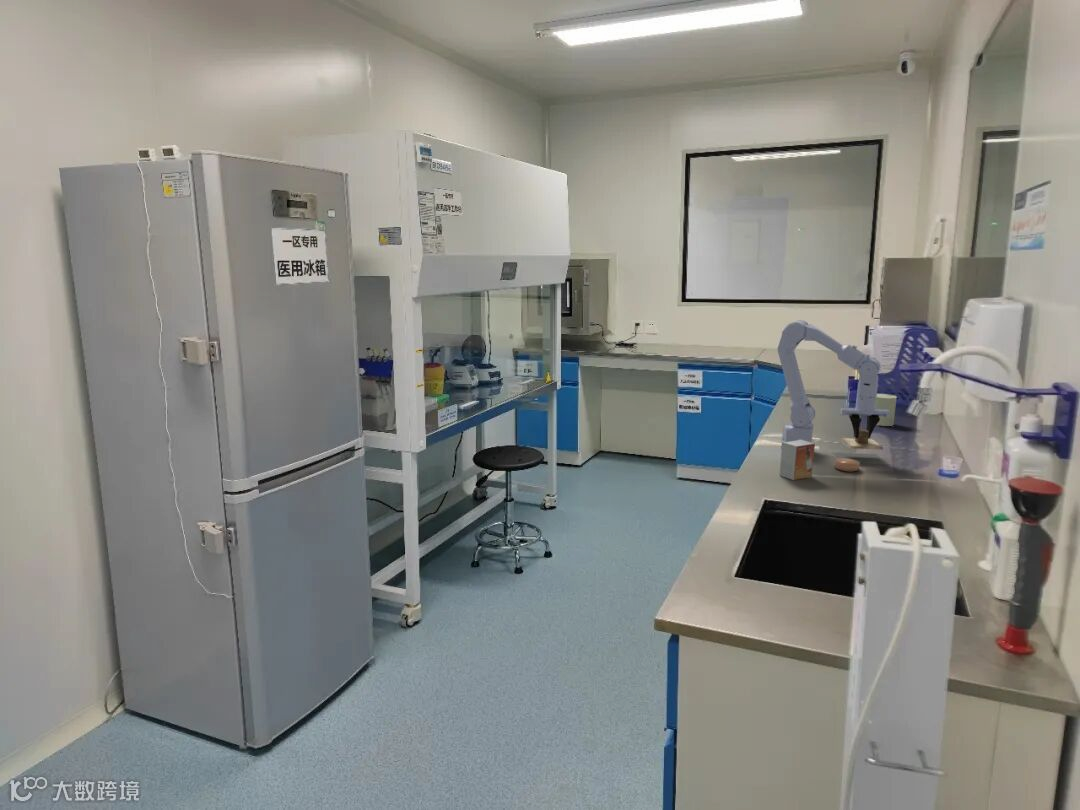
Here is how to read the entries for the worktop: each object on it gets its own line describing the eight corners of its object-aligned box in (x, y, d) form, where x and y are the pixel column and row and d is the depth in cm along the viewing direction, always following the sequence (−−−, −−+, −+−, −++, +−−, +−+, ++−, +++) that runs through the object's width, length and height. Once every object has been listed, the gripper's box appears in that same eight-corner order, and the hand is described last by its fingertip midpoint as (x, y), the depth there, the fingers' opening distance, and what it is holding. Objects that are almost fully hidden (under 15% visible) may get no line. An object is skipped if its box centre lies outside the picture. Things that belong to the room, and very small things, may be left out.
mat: (842, 464, 220) (843, 462, 220) (831, 454, 232) (832, 452, 232) (889, 466, 219) (889, 464, 219) (875, 455, 230) (875, 454, 230)
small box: (793, 480, 204) (796, 446, 201) (778, 475, 208) (781, 441, 206) (812, 477, 207) (815, 443, 205) (797, 472, 212) (800, 438, 210)
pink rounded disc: (837, 473, 211) (838, 464, 210) (831, 466, 217) (832, 457, 217) (861, 474, 210) (863, 465, 209) (854, 467, 217) (855, 458, 216)
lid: (849, 448, 220) (851, 433, 219) (840, 440, 230) (841, 426, 229) (882, 449, 219) (884, 434, 218) (871, 441, 229) (873, 427, 228)
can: (899, 425, 272) (902, 396, 270) (881, 427, 269) (885, 397, 266) (879, 420, 281) (883, 391, 278) (862, 422, 277) (866, 393, 275)
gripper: (846, 397, 218) (842, 439, 221) (895, 399, 216) (890, 441, 219) (840, 393, 225) (835, 434, 228) (886, 395, 223) (882, 435, 226)
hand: (861, 437), depth 224 cm, fingers closed on lid, 3 cm apart
